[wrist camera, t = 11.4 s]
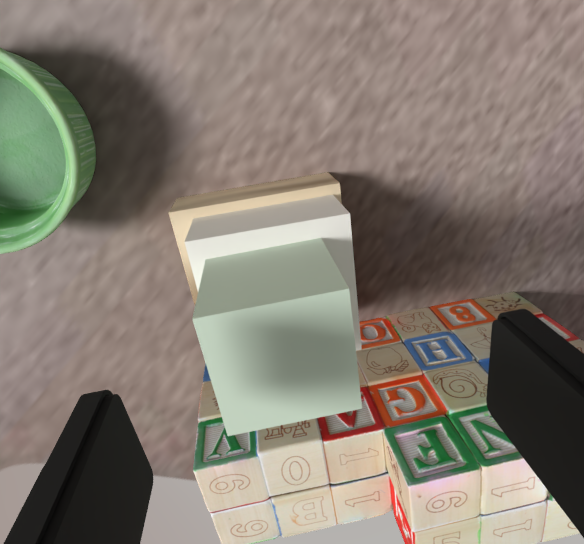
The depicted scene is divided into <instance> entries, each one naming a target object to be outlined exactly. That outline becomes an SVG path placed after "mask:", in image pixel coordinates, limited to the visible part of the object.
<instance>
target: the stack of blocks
mask: <svg viewBox="0 0 584 544" xmlns="http://www.w3.org/2000/svg"><path fill="white" fill-rule="evenodd" d="M518 309H527V310H528V311H530V312H531V313H532V314H534V315H535V316H536V317H538V318H539V319H540V320H541V321H543V322H544V323H545V324H546V325H548V326H549V327H550V328H552V329H553V330H554V331H555V332H557V333H558V334H559V335H560V336H562V337H563V338H564V339H566V340H567V341H568V342H569V343H571V344H572V345H573V346H574V347H576V348H577V349H578V350H579V351H581V352H582V353H583V354H584V340H581V339H580V338H578V337H577V336H576V335H574V334H573V333H571V332H570V331H569V330H567V329H566V328H564V327H563V326H562V325H560V324H559V323H557V322H556V321H554V320H553V319H551V318H550V317H548V316H547V315H545V314H543V312H542V311H541V310H540V309H539V308H537V307H536V306H535V305H533V304H532V303H530V302H529V301H527V300H526V299H524V298H523V297H521V296H520V295H518V294H517V293H515V292H510V293H504V294H499V295H494V296H489V297H483V298H478V299H467V300H462V301H457V302H452V303H447V304H442V305H437V306H431V307H426V308H421V309H415V310H410V311H405V312H400V313H395V314H390V315H387V316H386V317H383V318H377V319H373V320H369V321H362V322H359V324H360V336H361V347H362V350H357V351H356V356H357V365H358V374H359V383H360V392H361V401H362V409H358V410H353V411H348V412H344V413H339V414H334V415H329V416H324V417H319V418H314V419H310V420H305V421H300V422H295V423H290V424H285V425H280V426H275V427H271V428H266V429H261V430H256V431H251V432H246V433H241V434H237V435H232V436H227V432H226V429H225V426H224V422H223V419H222V416H221V412H220V409H219V406H218V402H217V399H216V396H215V393H214V389H213V386H212V383H211V379H210V376H209V373H208V369H207V366H206V363H205V370H204V377H203V384H202V390H201V396H200V404H199V412H198V422H199V424H198V430H197V439H196V448H195V457H194V466H193V471H194V474H195V477H196V479H197V482H198V485H199V487H200V490H201V492H202V495H203V498H204V501H205V504H206V507H207V509H208V511H209V512H210V513H211V517H212V520H213V522H214V525H215V528H216V531H217V533H218V535H219V539H220V541H221V544H253V543H257V542H262V541H267V540H271V539H275V538H277V537H278V536H281V537H288V536H293V535H297V534H302V533H306V532H311V531H315V530H319V529H323V528H328V527H332V526H334V525H336V524H347V523H351V522H355V521H359V520H363V519H367V518H371V517H375V516H379V515H383V514H385V513H387V512H389V511H391V510H392V509H394V515H395V519H396V521H397V524H398V527H399V529H400V531H401V533H402V536H403V539H404V542H405V544H537V543H538V542H545V541H550V540H554V539H558V538H562V537H566V536H570V535H574V534H578V533H580V532H579V531H578V530H577V528H576V527H575V526H574V524H573V523H572V522H571V520H570V519H569V518H568V516H567V515H566V514H565V512H564V511H563V510H562V508H561V507H560V506H559V505H558V503H557V502H556V501H555V499H554V498H553V497H552V495H551V494H550V493H549V491H548V490H547V489H546V487H545V486H544V485H543V483H542V482H541V481H540V479H539V478H538V477H537V475H536V474H535V473H534V471H533V470H532V469H531V468H530V466H529V465H528V464H527V462H526V461H525V460H524V458H523V457H522V456H521V454H520V453H519V452H518V450H517V449H516V448H515V446H514V445H513V444H512V442H511V441H510V440H509V438H508V437H507V436H506V434H505V433H504V432H503V430H502V429H501V428H500V427H499V425H498V424H497V423H496V421H495V420H494V419H493V417H492V416H491V414H490V412H489V410H488V408H487V403H486V397H487V384H488V370H489V357H490V344H491V331H492V323H493V321H494V320H497V318H498V316H499V314H500V313H503V312H508V311H513V310H518Z"/></svg>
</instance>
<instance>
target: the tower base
mask: <svg viewBox="0 0 584 544" xmlns="http://www.w3.org/2000/svg"><path fill="white" fill-rule="evenodd" d="M332 194H333V195H334V196H335V197H336V198H337V200H338V201H339V202H340V203H341V204H342V201H341V190H340V183H339V182H338V181H337V180H336V179H335V178H334V177H333V176H331V175H330V174H329V173H328V172H326V173H320V174H314V175H309V176H303V177H297V178H291V179H285V180H279V181H274V182H268V183H262V184H256V185H250V186H244V187H239V188H233V189H227V190H221V191H215V192H210V193H204V194H198V195H192V196H186V197H180V198H177V199H176V201H175V203H174V204H173V206H172V208H171V210H170V211H169V216H170V219H171V223H172V227H173V230H174V234H175V237H176V241H177V244H178V248H179V251H180V255H181V258H182V262H183V265H184V269H185V273H186V276H187V280H188V283H189V287H190V290H191V294H192V297H193V301H194V304H195V305H196V300H197V296H198V290H197V287H196V283H195V279H194V276H193V272H192V268H191V264H190V261H189V257H188V253H187V250H186V246H185V239H186V237H187V234H188V231H189V229H190V226H191V223H192V221H193V218H198V217H204V216H210V215H216V214H222V213H227V212H233V211H239V210H245V209H251V208H256V207H262V206H268V205H274V204H280V203H286V202H292V201H297V200H303V199H309V198H315V197H321V196H327V195H332Z"/></svg>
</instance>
